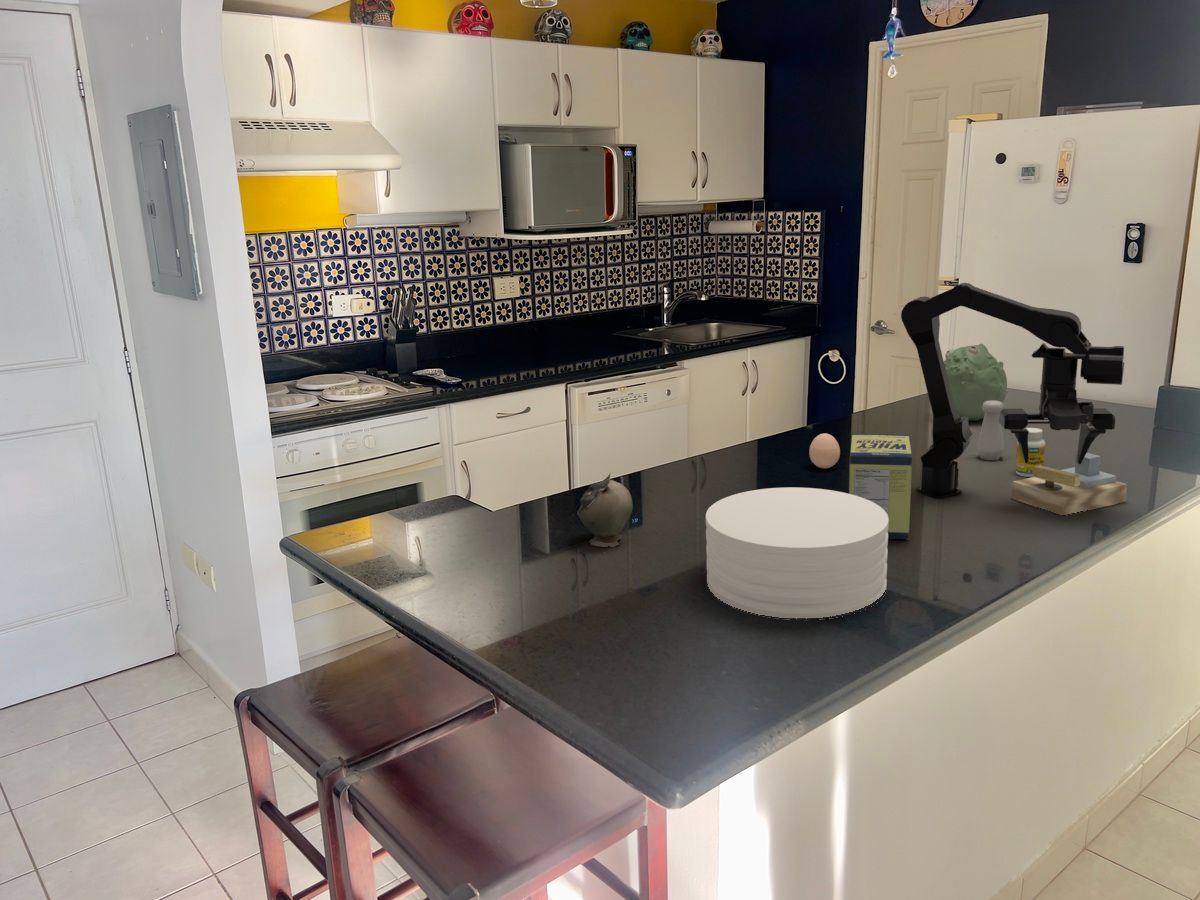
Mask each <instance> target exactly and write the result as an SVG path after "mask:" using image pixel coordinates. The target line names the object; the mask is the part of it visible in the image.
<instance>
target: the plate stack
mask: <svg viewBox="0 0 1200 900" xmlns="http://www.w3.org/2000/svg"><path fill="white" fill-rule="evenodd" d="M888 525H889V518H888V515H887V513H886V512H885V511H884V510H883V509H882V508H881V507H880V506H878V505H877V504H875V503H873V502H871V501H869V500H867V499H864V498H862V497H859V496H855V495H852V494H850V493H846V492H843V491H837V490H832V489H825V488H824V489H823V488H814V487H797V486H796V487H794V486H793V487H770V488H769V487H768V488H760V489H755V490H753V489H752V490H747V491H744V492H738V493H735V494H732V495H729V496H726V497H723V498H721V499H719V500H717V501H716V502H714V503H713V504H711V506H709V507H708V508H707V511H706V513H705V526H706V529H705V540H706V549H705V550H706V573H707V574H706V584H708V585H707V587H709V588H708V590H709V589H710V590H709V591H710V593H711V592H712V593H713V594H714V595H713V594H712V593H711V594H712V595H713V596H714V597H715V598H716V597H717V598H716V599H718V600H719V599H720V600H719V601H721V602H722V601H723V602H722V603H723V604H725V603H726V605H727V604H728V606H729V605H730V606H729V607H731V606H732V607H731V608H734V607H735V608H734V609H736V608H738V609H737V610H739V609H741V610H740V611H742V610H744V611H743V612H745V611H747V612H746V613H748V612H751V613H750V614H752V613H755V614H754V615H756V614H758V615H757V616H760V615H765V616H772V617H779V618H796V619H797V618H806V619H807V618H823V617H830V616H831V617H832V616H836V615H841V614H845V613H849V612H853V611H855V610H859V609H861V608H864V607H865V606H868V605H870V604H872V603H873V602H875V601H876V600H877V599H879V598H880V597H881V596H882V595H883V593H884V592H885V590H886V591H887V583H888V581H887V573H888V563H887V562H888V550H889V549H888V544H889V539H888V532H887V531H888ZM885 593H886V592H885ZM765 616H764V617H765ZM779 618H778V619H779Z"/></svg>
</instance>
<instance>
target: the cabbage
mask: <svg viewBox="0 0 1200 900" xmlns="http://www.w3.org/2000/svg"><path fill="white" fill-rule="evenodd" d="M944 357H945V360H943V361H944V365H945V369H946V373H947V377H948V381H949V386H950V390H951V394H952V398H953V402H954V406H955V409H956V411H957V413H958V414H959V416H960V417H964V416H968V421H971V422H973V421H974V422H976V421H980V420H983V419H984V415H985V412H984V411H983V410H982V406H983V403H984V402H986V401H991V400H994V401H1000V402H1002V403H1003V402H1004V401H1005V399H1006V397H1007V394H1008V390H1007V388H1008V380H1007V374H1006V371H1005V369H1004V362H1003V361H997V358H996V357H995V356H993V354H992V353H990V352H989V350H988V348H987V346H985V344H983V343H980V344H974V345H967V346H961V347H958V348H955V349H952V348H951V349H949V350H947V351H946V353H945V354H944Z"/></svg>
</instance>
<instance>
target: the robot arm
mask: <svg viewBox="0 0 1200 900" xmlns="http://www.w3.org/2000/svg"><path fill="white" fill-rule="evenodd" d="M959 307H964V308H967V309H970V310H973V311H976V312H977V313H981V314H984V315H987V316H990V317H993V318H994V319H998V320H1000V321H1004V322H1006V323H1009V324H1011V325H1015V326H1017V327H1019V328H1020V327H1021V328H1022V329H1024V330H1025V331H1028V332H1029V333H1030V334H1032V335H1033V336H1035V337H1036V338H1038V339H1040V340H1042V341H1043V342H1042V343H1041V345H1040V346H1039V348H1037V349H1035V350H1034V351H1033V353H1032V354H1031V357H1032V358H1035V359H1037V358H1038V359H1043V360H1042V368H1041V369H1042V370H1041V384H1040V386H1039V387H1040V389H1039V390H1040V395H1039V396H1040V397H1039V399H1040V400H1039V405H1038V413H1027V411H1025V410H1024V409H1023V408H1003V410H1002V411H1001V412H1000V415H999V423H1000V424H1001V425H1002V429H1004V430H1008V431H1009V432H1010V433H1011V434H1013V435H1014V436H1015V438H1016V440H1017V442H1018V443H1019V446H1020V450H1021V453H1022V456H1023V459H1024V462H1025V463H1026V464H1027V463H1028V433H1029V431H1028V430H1027V429H1026V428H1027V426H1028V425H1029V424H1032V425H1033V424H1035V425H1036V424H1041V425H1043V424H1045V425H1046V424H1048V425H1049V427H1050V429H1052V430H1053V431H1061V430H1070V431H1078V430H1079V436H1078V437H1079V438H1078V445H1077V451H1076V452H1077V454H1076V455H1077V463H1078V464H1081V463H1082V461H1083V459H1084V457H1085V455H1086V453H1088V450H1089V449H1090V447H1091V445H1092V443H1094V441H1095V439H1096V438H1097V437H1098V436H1100V435H1105V434H1106V433H1107V430H1115V427H1116V416H1115V415H1114V414H1113V413H1112V412H1111V411H1109V410H1108V409H1107V408H1106V407H1105V408H1104V407H1103V408H1101V407H1100V408H1099V407H1098V408H1095V407H1094V404H1093V402H1092V401H1081V402H1079V401H1078V399H1077V389H1076V387H1077V376H1078V374H1077V373H1078V362H1079V360H1081V364H1080V378H1083V380H1086V384H1094V385H1097V384H1100V385H1117V386H1118V385H1120V386H1122V385H1123V379H1124V371H1125V362H1124V358H1125V357H1124V355H1125V346H1124V345H1114V346H1097V345H1096V346H1095V345H1093V346H1092V343H1091V342H1090V340H1089V339H1088V338H1087V337H1086V335H1085V334H1084V333H1083V331H1082V322H1081V320H1080V317H1079V316H1078V315H1076V314H1075V313H1073V312H1071V311H1066V310H1060V309H1053V308H1047V307H1045V308H1044V307H1037V306H1032V305H1028V304H1025V303H1023V302H1019V301H1017V300H1015V299H1011V298H1009V297H1006V296H1003V295H999V294H997V293H993V292H991V291H988V290H986V289H985V290H984V289H983V288H979V287H976V286H974V285H972V284H971V283H968V282H960V283H959V284H957V285H955V286H954V287H953V288H951V289H948V290H946V291H943V292H941V293H938V294H937V295H935V296H933V297H930V296H929V297H928V296H919V297H917V298H915V299H913V300H910V301H909V302H907V303H906V304H905V305H904V306H903V308H902V310H901V313H900V319H901V322H902V324H903V326H904V328H905V330H906V333H907V335H908V337H909V338H910V340H911V341H912V343H913V344H914V347H915V348H916V350H917V355H918V358H919V363H920V367H921V372H922V376H923V379H924V380H923V381H924V383H925V384H924V385H925V388H926V391H927V397H928V401H929V404H930V408H931V412H932V417H933V418H932V431H931V435H932V436H931V437H932V444H931V445H930V446H929V447H928V448H927V450H926V451H924V453H923V454H922V455H921V456H920V460H921V463H922V464H921V482H920V483H921V486H918V487H915V491H917V492H920V493H922V494H924V495H927V496H930V497H933V498H935V499H941V498H945V497H950V496H956V495H960V494H963V491H962V490H961V489H959V488H958V487H959V467H958V464H959V462H958V461H955V460H957V459H958V458H960V457H961V456H962V454H963V453H964V452H965V450H966V449H967V447H968V446H969V444H970V442H971V440H970V439H971V437H972V435H973V432H972V431H971V429H970V425H969V420H968V416H964V417H960V416H959V414H958V413H957V411H956V409H955V406H954V402H953V398H952V394H951V390H950V386H949V381H948V377H947V373H946V369H945V365H944V361H945V360H944V357H943V353H942V350H941V344H940V327H941V326H940V323H941V322H940V316H941V315H943V314H946V313H947V312H950V311H952V310H954V309H956V308H959ZM1046 344H1049V345H1050V346H1051V347H1049V346H1048V345H1046ZM1066 350H1068V351H1069V352H1066Z"/></svg>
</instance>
